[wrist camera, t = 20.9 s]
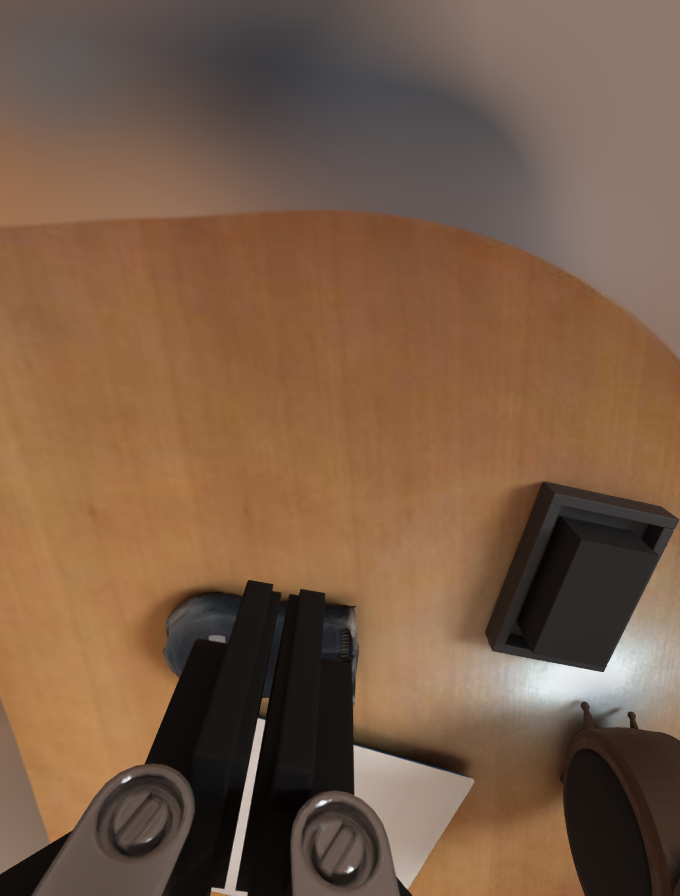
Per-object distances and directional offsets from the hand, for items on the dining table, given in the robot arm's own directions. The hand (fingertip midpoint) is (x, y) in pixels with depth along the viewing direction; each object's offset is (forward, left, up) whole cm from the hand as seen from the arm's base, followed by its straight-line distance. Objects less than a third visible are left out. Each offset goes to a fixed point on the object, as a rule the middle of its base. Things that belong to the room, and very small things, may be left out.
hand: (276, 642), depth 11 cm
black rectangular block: (+10, +21, -24) cm, 33 cm away
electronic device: (+20, -1, -24) cm, 32 cm away
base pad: (+10, +21, -24) cm, 34 cm away
